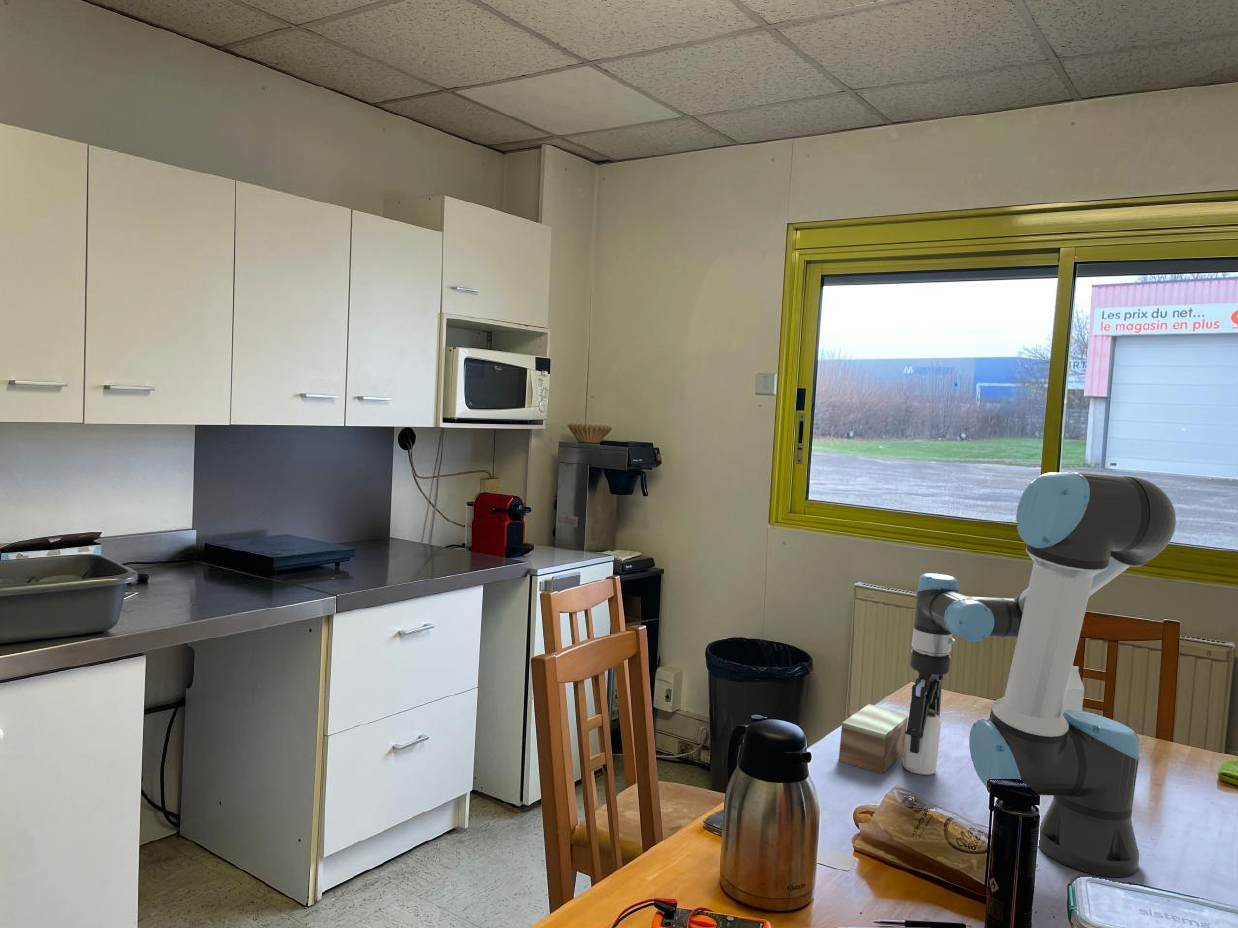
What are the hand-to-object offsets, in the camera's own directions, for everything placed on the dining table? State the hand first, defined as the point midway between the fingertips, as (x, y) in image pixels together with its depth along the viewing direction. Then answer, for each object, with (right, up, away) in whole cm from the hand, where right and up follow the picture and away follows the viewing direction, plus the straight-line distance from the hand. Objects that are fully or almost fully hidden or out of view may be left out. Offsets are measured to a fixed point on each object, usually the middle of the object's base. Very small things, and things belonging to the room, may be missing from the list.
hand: (919, 761), depth 182 cm
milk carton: (+36, -3, +18) cm, 40 cm away
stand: (-8, -1, +5) cm, 10 cm away
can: (0, -2, 0) cm, 2 cm away
